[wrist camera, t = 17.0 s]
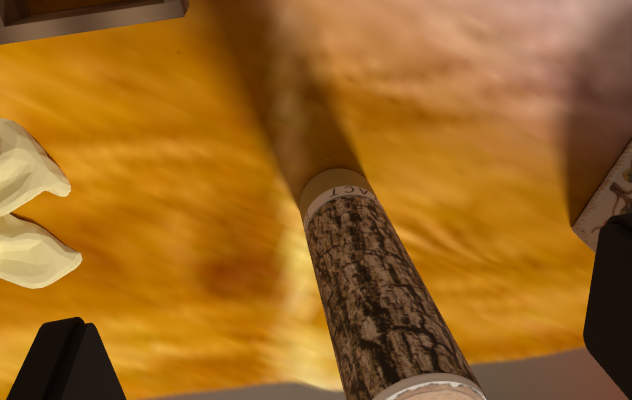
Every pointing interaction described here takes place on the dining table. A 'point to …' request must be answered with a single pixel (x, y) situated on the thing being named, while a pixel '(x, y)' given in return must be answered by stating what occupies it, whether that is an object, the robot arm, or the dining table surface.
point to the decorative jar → (607, 200)
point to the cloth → (22, 236)
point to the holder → (81, 18)
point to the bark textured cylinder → (377, 299)
